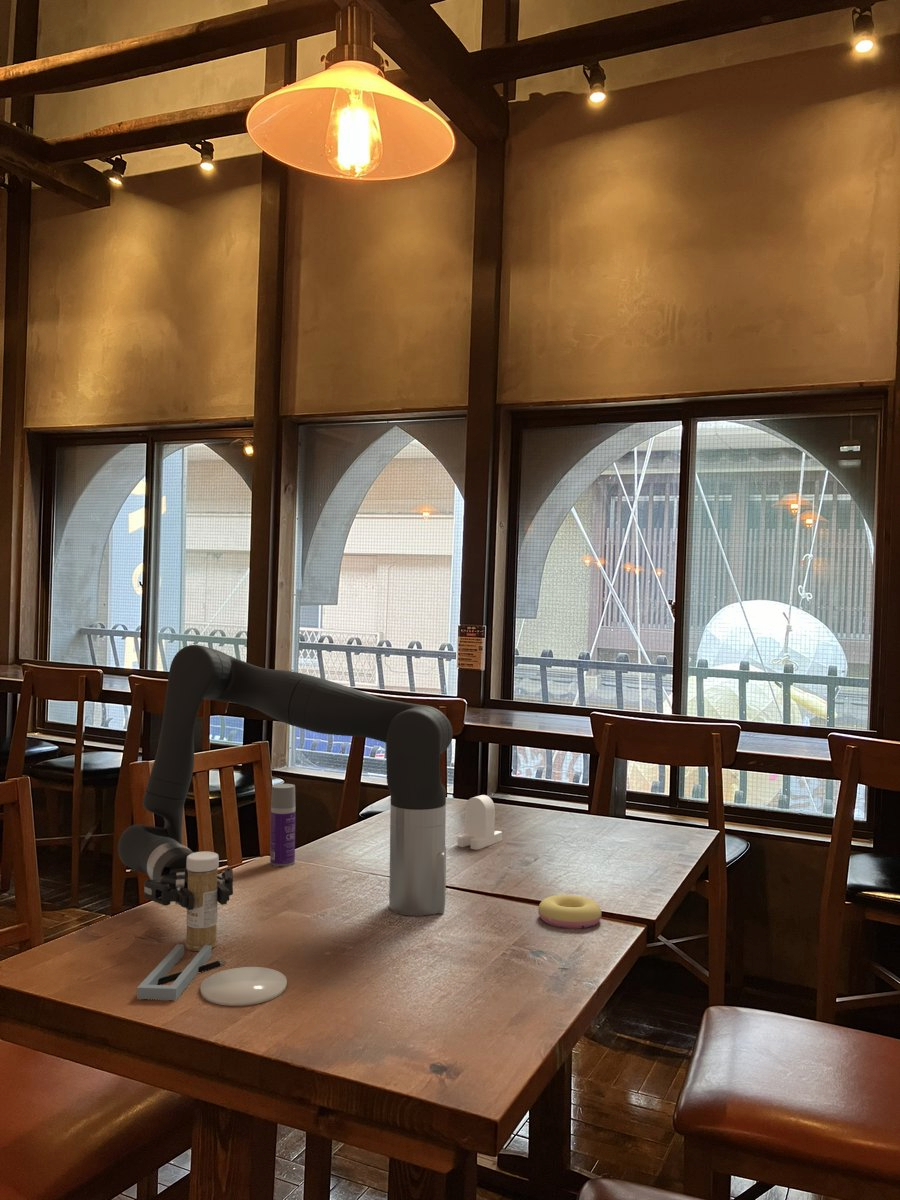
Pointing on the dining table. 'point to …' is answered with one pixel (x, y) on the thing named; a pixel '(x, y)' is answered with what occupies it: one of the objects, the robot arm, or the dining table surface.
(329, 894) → the dining table surface
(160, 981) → the black marker pen
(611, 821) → the dining table surface
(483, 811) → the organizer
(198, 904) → the sprinkles bottle
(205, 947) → the grey u-shaped piece
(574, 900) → the donut
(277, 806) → the container
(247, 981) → the coaster
